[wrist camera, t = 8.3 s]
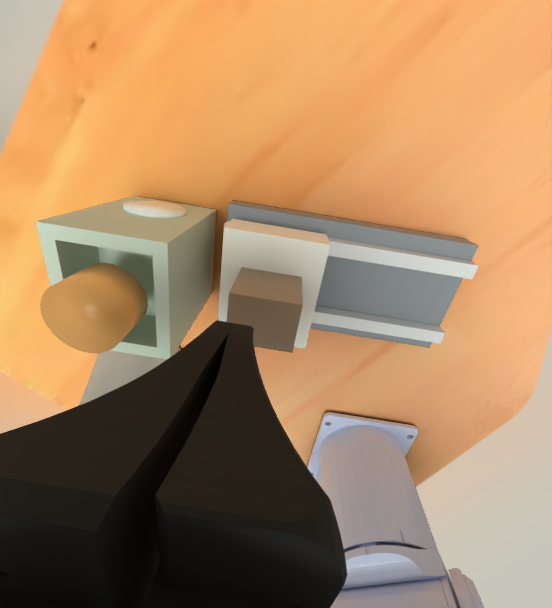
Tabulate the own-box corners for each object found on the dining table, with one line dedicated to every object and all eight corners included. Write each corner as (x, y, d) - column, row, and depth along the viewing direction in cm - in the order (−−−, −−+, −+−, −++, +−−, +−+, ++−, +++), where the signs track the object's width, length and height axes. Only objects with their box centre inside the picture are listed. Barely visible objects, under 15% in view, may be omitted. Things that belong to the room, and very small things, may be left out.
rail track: (420, 335, 21) (434, 354, 19) (225, 303, 21) (217, 319, 19) (464, 238, 17) (486, 249, 15) (233, 200, 17) (225, 206, 15)
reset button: (149, 331, 13) (126, 358, 11) (83, 320, 13) (49, 346, 11) (145, 269, 12) (118, 289, 10) (72, 257, 12) (31, 275, 10)
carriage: (304, 329, 18) (306, 386, 14) (224, 316, 18) (201, 369, 14) (326, 234, 15) (338, 267, 11) (232, 218, 15) (205, 245, 11)
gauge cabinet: (212, 292, 20) (170, 360, 14) (140, 280, 20) (63, 342, 14) (216, 206, 18) (167, 238, 11) (134, 192, 18) (34, 216, 11)
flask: (90, 367, 24) (-30, 490, 15) (121, 305, 21) (-4, 414, 12) (168, 407, 26) (100, 540, 17) (207, 355, 23) (150, 482, 14)
